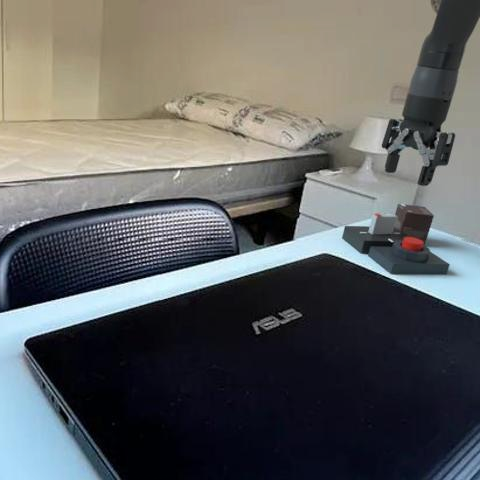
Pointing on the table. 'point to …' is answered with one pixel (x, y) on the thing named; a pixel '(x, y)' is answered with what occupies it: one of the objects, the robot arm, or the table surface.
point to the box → (414, 221)
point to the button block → (407, 260)
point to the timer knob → (382, 224)
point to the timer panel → (369, 238)
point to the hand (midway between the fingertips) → (405, 178)
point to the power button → (412, 244)
